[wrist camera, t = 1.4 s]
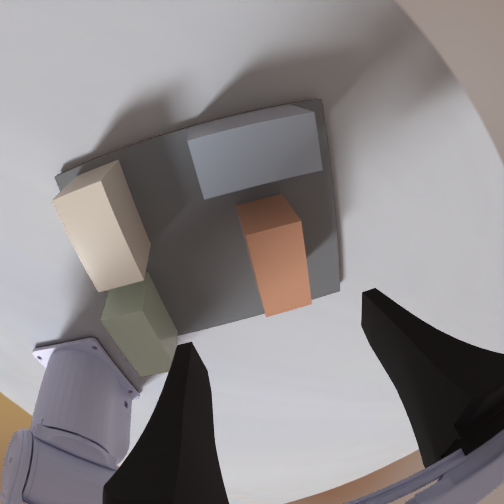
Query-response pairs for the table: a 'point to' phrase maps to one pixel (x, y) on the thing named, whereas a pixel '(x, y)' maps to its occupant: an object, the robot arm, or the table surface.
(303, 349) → the table surface
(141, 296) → the sage brick
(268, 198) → the terracotta brick
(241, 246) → the mat
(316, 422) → the table surface
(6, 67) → the table surface
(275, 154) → the bluegrey brick
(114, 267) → the cream brick
